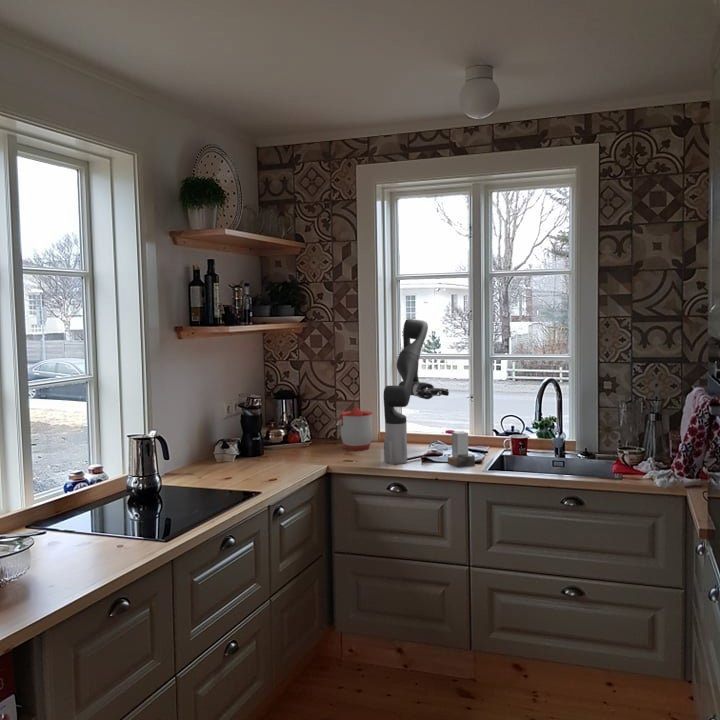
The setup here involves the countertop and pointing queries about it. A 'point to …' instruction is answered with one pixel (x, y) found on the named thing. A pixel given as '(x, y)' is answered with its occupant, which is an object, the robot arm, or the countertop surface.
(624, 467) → the countertop surface
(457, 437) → the aluminium block
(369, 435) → the citrus juicer
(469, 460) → the walnut cradle
